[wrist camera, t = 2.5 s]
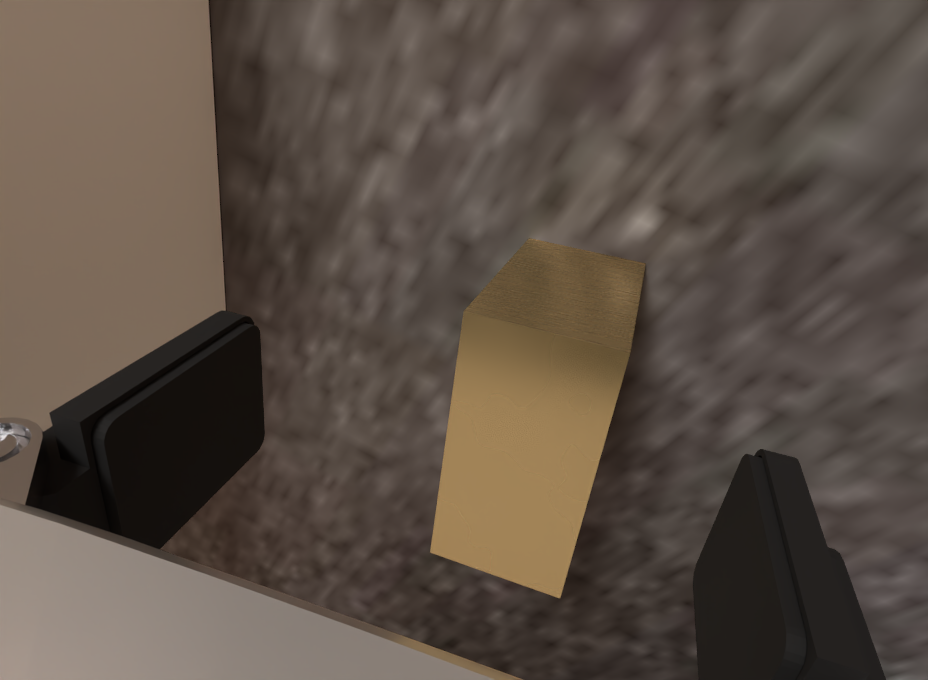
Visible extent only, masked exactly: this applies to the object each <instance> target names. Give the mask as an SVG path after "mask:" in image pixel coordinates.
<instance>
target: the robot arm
mask: <svg viewBox="0 0 928 680" xmlns="http://www.w3.org/2000/svg"><path fill="white" fill-rule="evenodd" d="M49 414H50V418H51V422H52V427H50V428H48V429H47V430H45V431H44V432H43V431H42V429H41V428H40V427H39V425H38V424H37V423H35V422H32V421H30V420H28V419H21V418H14V417H12V418H0V680H523V679H520V678H517V677H515V676H512V675H509V674H506V673H504V672H501V671H498V670H495V669H493V668H490V667H487V666H484V665H482V664H479V663H476V662H473V661H471V660H468V659H465V658H462V657H460V656H457V655H454V654H451V653H449V652H446V651H443V650H440V649H438V648H435V647H432V646H429V645H427V644H424V643H421V642H418V641H416V640H413V639H410V638H407V637H405V636H402V635H399V634H396V633H393V632H391V631H388V630H385V629H382V628H379V627H377V626H374V625H371V624H368V623H366V622H363V621H360V620H357V619H354V618H352V617H349V616H346V615H343V614H340V613H338V612H335V611H332V610H329V609H326V608H324V607H321V606H318V605H315V604H312V603H310V602H307V601H304V600H301V599H298V598H296V597H293V596H290V595H287V594H284V593H282V592H279V591H276V590H273V589H270V588H268V587H265V586H262V585H259V584H256V583H254V582H251V581H248V580H245V579H242V578H239V577H237V576H234V575H231V574H228V573H225V572H222V571H220V570H217V569H214V568H211V567H208V566H205V565H202V564H200V563H197V562H194V561H191V560H188V559H185V558H182V557H180V556H177V555H174V554H171V553H168V552H165V551H162V550H160V548H161V547H162V546H163V545H164V544H165V543H166V542H167V541H168V540H169V539H170V538H171V537H172V536H173V535H174V534H175V533H176V532H177V531H178V530H179V529H180V528H181V527H182V526H183V525H184V524H185V523H186V522H187V521H188V520H189V519H190V518H191V517H192V516H193V515H194V514H195V513H196V512H197V511H198V510H199V509H200V508H201V507H202V506H203V505H204V504H205V503H206V502H207V501H208V500H209V499H210V498H211V497H212V496H213V495H214V494H215V493H216V492H217V491H218V490H219V489H220V488H221V487H222V486H223V485H224V484H225V483H226V482H227V481H228V480H229V479H230V478H231V477H232V476H233V475H234V474H235V473H236V472H237V471H238V470H239V469H240V468H241V467H242V466H243V465H244V464H245V463H246V462H247V461H248V460H249V459H250V458H251V457H252V456H253V455H254V454H255V453H256V452H257V451H258V450H259V449H260V447H261V445H262V443H263V440H264V434H265V430H264V408H263V386H262V365H261V343H260V331H259V329H258V327H257V326H254V322H253V320H252V319H251V318H250V317H248V316H244V315H240V314H236V313H232V312H228V311H223V310H222V311H219V312H217V313H215V314H214V315H212V316H210V317H209V318H207V319H205V320H204V321H202V322H200V323H198V324H197V325H195V326H193V327H192V328H190V329H188V330H187V331H185V332H183V333H182V334H180V335H178V336H177V337H175V338H173V339H172V340H170V341H168V342H167V343H165V344H163V345H162V346H160V347H158V348H157V349H155V350H153V351H152V352H150V353H148V354H147V355H145V356H143V357H142V358H140V359H138V360H137V361H135V362H133V363H132V364H130V365H128V366H127V367H125V368H123V369H122V370H120V371H118V372H117V373H115V374H113V375H111V376H110V377H108V378H106V379H105V380H103V381H101V382H100V383H98V384H96V385H95V386H93V387H91V388H90V389H88V390H86V391H85V392H83V393H81V394H80V395H78V396H76V397H75V398H73V399H71V400H70V401H68V402H66V403H65V404H63V405H61V406H60V407H58V408H56V409H55V410H53V411H51V412H50V413H49ZM693 592H694V609H695V625H696V642H697V658H698V675H699V680H886V678H885V676H884V673H883V670H882V667H881V664H880V662H879V659H878V656H877V653H876V650H875V647H874V645H873V642H872V639H871V636H870V633H869V631H868V628H867V625H866V622H865V619H864V617H863V614H862V611H861V608H860V605H859V603H858V600H857V597H856V594H855V591H854V589H853V586H852V583H851V580H850V577H849V575H848V572H847V569H846V566H845V563H844V561H843V559H842V557H841V555H840V553H838V552H837V551H836V550H835V549H832V548H828V547H827V544H826V541H825V538H824V535H823V532H822V529H821V526H820V523H819V520H818V517H817V514H816V511H815V508H814V505H813V502H812V499H811V496H810V493H809V490H808V487H807V484H806V481H805V478H804V475H803V472H802V469H801V466H800V463H799V461H798V459H796V458H794V457H790V456H786V455H782V454H779V453H775V452H771V451H767V450H763V449H760V450H758V451H757V453H756V454H755V456H753V455H749V454H745V455H744V456H743V457H742V459H741V461H740V464H739V466H738V468H737V471H736V473H735V475H734V478H733V480H732V482H731V485H730V487H729V489H728V492H727V494H726V496H725V499H724V501H723V503H722V506H721V508H720V510H719V513H718V515H717V517H716V520H715V522H714V524H713V527H712V529H711V531H710V534H709V536H708V538H707V541H706V543H705V545H704V548H703V550H702V552H701V554H700V557H699V559H698V561H697V564H696V567H695V571H694V578H693Z"/></svg>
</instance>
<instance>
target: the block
mask: <svg viewBox="0 0 928 680" xmlns="http://www.w3.org/2000/svg"><path fill="white" fill-rule="evenodd" d="M645 265H646V263H641V262H636V261H632V260H627V259H623V258H618V257H613V256H609V255H604V254H600V253H595V252H590V251H586V250H581V249H577V248H572V247H567V246H563V245H558V244H554V243H549V242H544V241H540V240H535V239H531V238H529V239H528V240H527V241H526V242H525V243H524V245H523V246H522V247H521V248H520V249H519V250H518V251H517V252H516V254H515V255H514V256H513V257H512V258H511V259H510V260H509V261H508V262H507V264H506V265H505V266H504V267H503V268H502V269H501V270H500V271H499V273H498V274H497V275H496V276H495V277H494V278H493V279H492V280H491V281H490V283H489V284H488V285H487V286H486V287H485V288H484V289H483V290H482V292H481V293H480V294H479V295H478V296H477V297H476V298H475V299H474V300H473V302H472V303H471V304H470V305H469V306H468V307H467V308H466V309H465V310H464V314H463V321H462V328H461V335H460V342H459V349H458V357H457V364H456V371H455V378H454V385H453V392H452V400H451V407H450V414H449V421H448V428H447V435H446V442H445V450H444V457H443V464H442V471H441V478H440V485H439V493H438V500H437V507H436V514H435V521H434V528H433V535H432V543H431V550H430V553H433V554H436V555H439V556H442V557H444V558H447V559H450V560H453V561H456V562H458V563H461V564H464V565H467V566H470V567H473V568H475V569H478V570H481V571H484V572H487V573H489V574H492V575H495V576H498V577H501V578H504V579H506V580H509V581H512V582H515V583H518V584H521V585H523V586H526V587H529V588H532V589H535V590H537V591H540V592H543V593H546V594H549V595H552V596H554V597H557V598H560V597H561V594H562V590H563V587H564V583H565V580H566V576H567V573H568V569H569V566H570V562H571V559H572V555H573V552H574V548H575V545H576V541H577V538H578V534H579V531H580V527H581V524H582V520H583V517H584V513H585V510H586V506H587V503H588V499H589V496H590V492H591V489H592V485H593V482H594V478H595V475H596V471H597V468H598V464H599V461H600V457H601V454H602V450H603V447H604V443H605V440H606V436H607V433H608V429H609V426H610V422H611V419H612V415H613V412H614V408H615V405H616V401H617V398H618V394H619V391H620V387H621V384H622V380H623V377H624V373H625V370H626V366H627V363H628V359H629V356H630V352H631V346H632V340H633V334H634V329H635V323H636V317H637V311H638V305H639V300H640V294H641V288H642V282H643V276H644V271H645Z"/></svg>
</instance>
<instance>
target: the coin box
mask: <svg viewBox="0 0 928 680" xmlns="http://www.w3.org/2000/svg"><path fill="white" fill-rule="evenodd" d="M222 310H223V311H226V304H225V287H224V269H223V251H222V233H221V215H220V197H219V179H218V161H217V144H216V126H215V108H214V90H213V72H212V54H211V36H210V18H209V0H0V418H12V417H14V418H21V419H28V420H30V421H32V422H35V423H37V424H38V425H39V427H40V428H41V429H42V431H43V432H44V431H45V430H47V429H48V428H50V427H52V422H51V418H50V414H49V413H50V412H51V411H53V410H55V409H56V408H58V407H60V406H61V405H63V404H65V403H66V402H68V401H70V400H71V399H73V398H75V397H76V396H78V395H80V394H81V393H83V392H85V391H86V390H88V389H90V388H91V387H93V386H95V385H96V384H98V383H100V382H101V381H103V380H105V379H106V378H108V377H110V376H111V375H113V374H115V373H117V372H118V371H120V370H122V369H123V368H125V367H127V366H128V365H130V364H132V363H133V362H135V361H137V360H138V359H140V358H142V357H143V356H145V355H147V354H148V353H150V352H152V351H153V350H155V349H157V348H158V347H160V346H162V345H163V344H165V343H167V342H168V341H170V340H172V339H173V338H175V337H177V336H178V335H180V334H182V333H183V332H185V331H187V330H188V329H190V328H192V327H193V326H195V325H197V324H198V323H200V322H202V321H204V320H205V319H207V318H209V317H210V316H212V315H214V314H215V313H217V312H219V311H222Z"/></svg>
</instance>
